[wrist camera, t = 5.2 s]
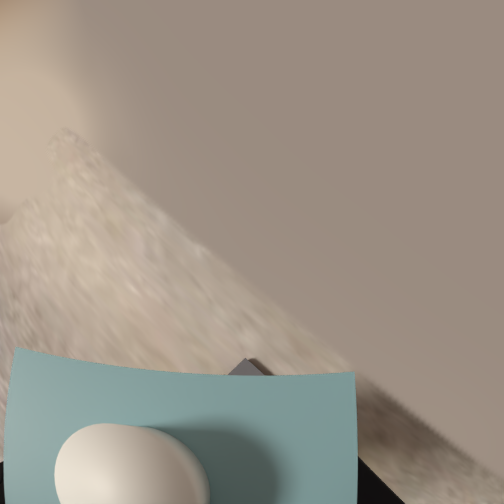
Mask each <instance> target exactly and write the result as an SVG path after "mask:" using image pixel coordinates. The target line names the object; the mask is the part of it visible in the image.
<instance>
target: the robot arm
mask: <svg viewBox="0 0 504 504" xmlns="http://www.w3.org/2000/svg"><path fill="white" fill-rule="evenodd" d="M0 504H5V492H4V461H3V462H1V463H0ZM357 504H405V503H404V502H403V501H402V500H401V499H400V498H399V497H398V496H397V495H396V494H395V493H394V492H393V491H392V490H391V489H390V488H389V487H388V486H387V485H386V484H385V483H384V482H383V481H382V480H381V479H380V478H379V477H378V476H377V475H376V474H375V473H374V472H373V471H372V470H371V469H370V468H369V467H368V466H367V465H366V464H365V463H364V462H363V461H362V460H361V459H360V458H359V457H358V481H357Z"/></svg>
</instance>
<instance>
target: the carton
mask: <svg viewBox="0 0 504 504" xmlns="http://www.w3.org/2000/svg"><path fill="white" fill-rule="evenodd" d="M357 481H358V440H357V408H356V388H355V373H354V372H345V373H330V374H312V375H281V376H242V375H210V374H192V373H178V372H166V371H155V370H145V369H136V368H128V367H120V366H113V365H106V364H99V363H93V362H87V361H81V360H75V359H70V358H64V357H59V356H54V355H49V354H45V353H40V352H36V351H31V350H27V349H23V348H19V347H16V348H15V353H14V358H13V364H12V369H11V376H10V382H9V389H8V397H7V406H6V417H5V431H4V492H5V504H357Z"/></svg>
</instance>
